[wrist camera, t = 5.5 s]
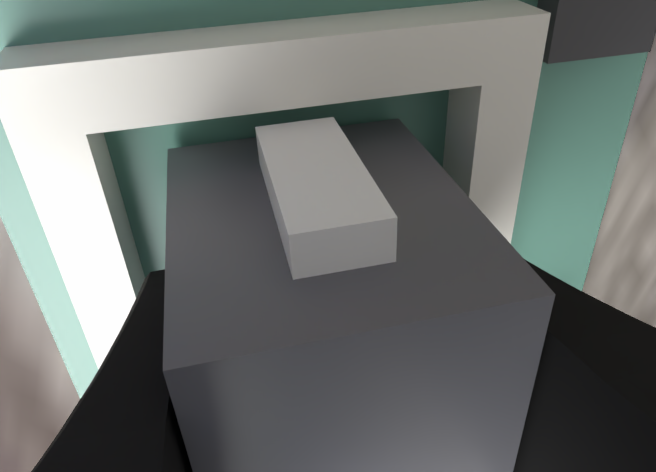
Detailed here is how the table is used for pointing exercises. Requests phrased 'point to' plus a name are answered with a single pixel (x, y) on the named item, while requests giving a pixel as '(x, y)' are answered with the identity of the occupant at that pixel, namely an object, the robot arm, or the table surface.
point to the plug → (342, 307)
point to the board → (297, 105)
